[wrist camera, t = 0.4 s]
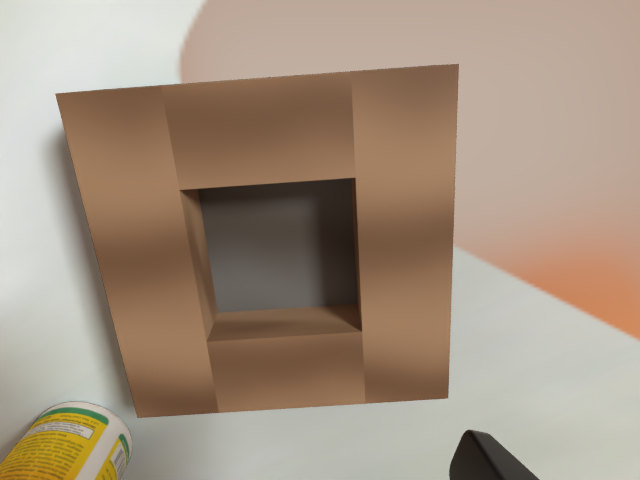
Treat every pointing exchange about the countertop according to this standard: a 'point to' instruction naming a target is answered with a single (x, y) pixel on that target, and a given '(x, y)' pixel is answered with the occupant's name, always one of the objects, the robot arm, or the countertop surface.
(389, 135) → the socket block
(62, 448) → the supplement bottle
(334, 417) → the countertop surface
